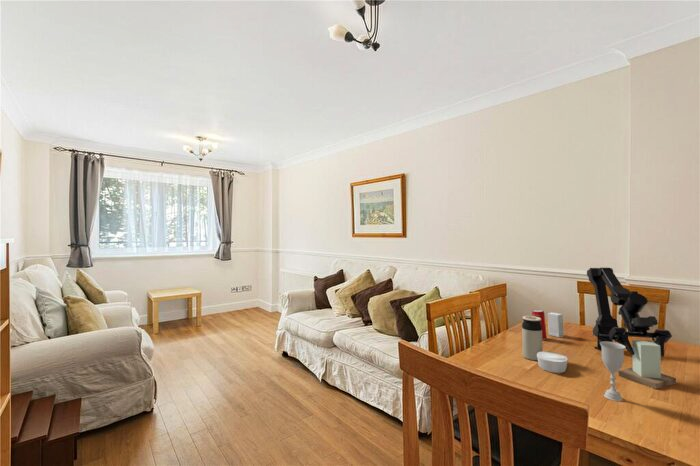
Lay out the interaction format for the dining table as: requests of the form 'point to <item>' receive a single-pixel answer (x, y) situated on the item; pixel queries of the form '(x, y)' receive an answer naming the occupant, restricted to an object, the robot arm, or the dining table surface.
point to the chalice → (612, 365)
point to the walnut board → (647, 379)
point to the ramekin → (552, 362)
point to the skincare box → (555, 324)
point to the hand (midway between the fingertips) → (648, 355)
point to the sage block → (646, 358)
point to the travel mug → (531, 337)
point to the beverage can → (541, 315)
